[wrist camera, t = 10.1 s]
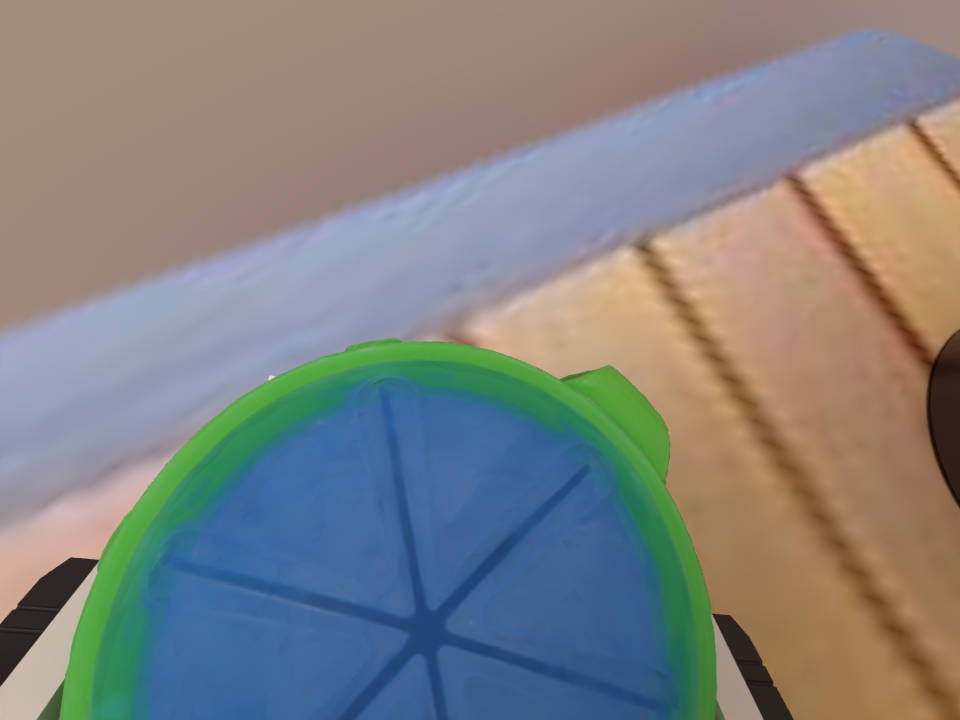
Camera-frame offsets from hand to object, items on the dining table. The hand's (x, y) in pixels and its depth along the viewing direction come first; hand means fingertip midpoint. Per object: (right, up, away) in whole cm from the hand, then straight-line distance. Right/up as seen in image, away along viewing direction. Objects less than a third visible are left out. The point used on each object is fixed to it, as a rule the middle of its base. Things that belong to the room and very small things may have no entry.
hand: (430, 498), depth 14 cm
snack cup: (-1, -4, +4) cm, 6 cm away
